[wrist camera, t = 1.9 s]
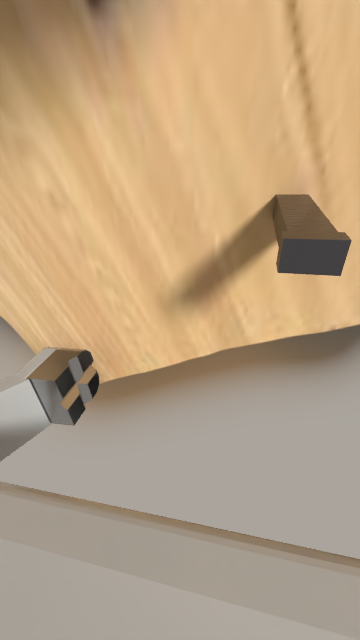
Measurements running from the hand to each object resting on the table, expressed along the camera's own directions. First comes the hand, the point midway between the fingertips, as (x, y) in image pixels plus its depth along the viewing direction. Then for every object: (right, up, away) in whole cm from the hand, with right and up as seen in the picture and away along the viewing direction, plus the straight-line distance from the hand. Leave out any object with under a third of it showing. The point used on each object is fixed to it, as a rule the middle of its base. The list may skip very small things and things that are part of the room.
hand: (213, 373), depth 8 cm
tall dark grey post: (+14, +17, +29) cm, 36 cm away
